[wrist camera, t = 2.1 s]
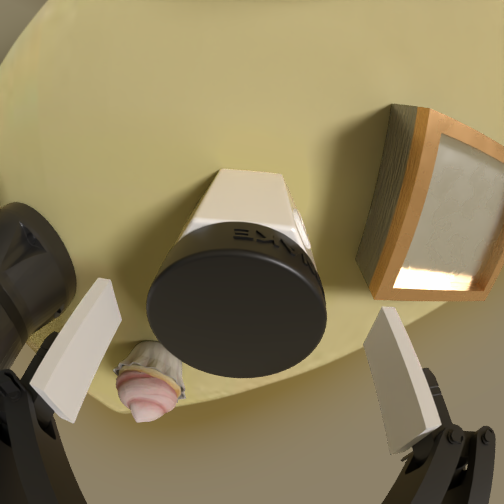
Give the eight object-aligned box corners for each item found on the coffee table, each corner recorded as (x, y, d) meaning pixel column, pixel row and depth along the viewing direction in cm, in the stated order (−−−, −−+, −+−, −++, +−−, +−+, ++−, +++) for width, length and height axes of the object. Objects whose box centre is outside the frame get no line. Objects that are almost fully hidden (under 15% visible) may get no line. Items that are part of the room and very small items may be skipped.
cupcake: (112, 343, 32) (86, 403, 23) (155, 321, 29) (127, 396, 20) (161, 380, 35) (145, 438, 27) (208, 366, 32) (196, 435, 24)
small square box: (352, 267, 24) (370, 307, 19) (391, 103, 16) (429, 108, 12) (457, 275, 24) (480, 306, 19) (499, 151, 17) (536, 169, 12)
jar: (314, 243, 23) (347, 359, 13) (228, 275, 25) (209, 392, 15) (271, 145, 19) (285, 203, 9) (176, 190, 21) (105, 283, 11)
